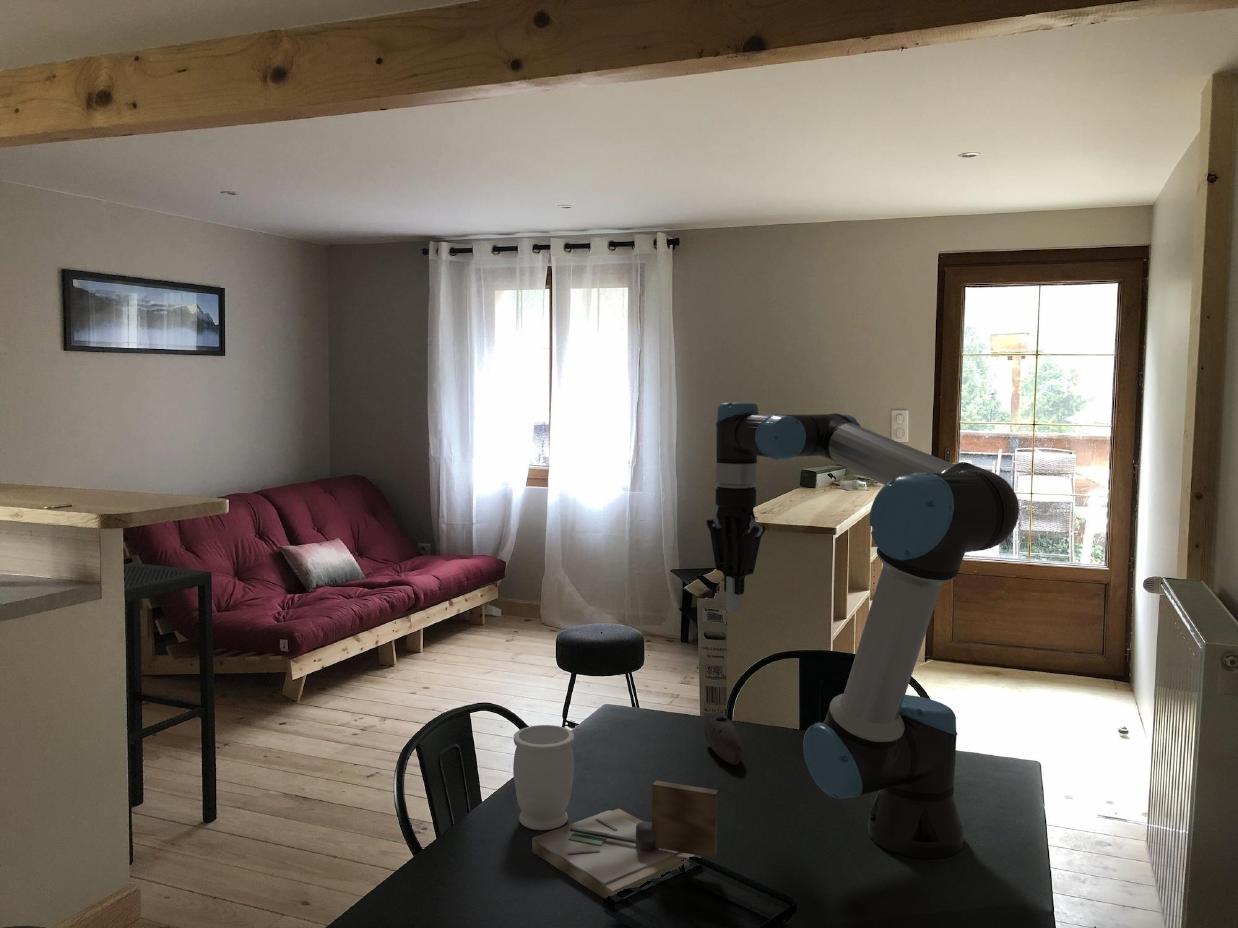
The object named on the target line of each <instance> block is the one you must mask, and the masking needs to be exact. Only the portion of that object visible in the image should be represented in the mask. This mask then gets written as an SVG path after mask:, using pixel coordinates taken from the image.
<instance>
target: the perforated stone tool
mask: <svg viewBox="0 0 1238 928" xmlns="http://www.w3.org/2000/svg"><path fill="white" fill-rule="evenodd" d="M703 726H704V729H703V730H704V732H703V733H704V737H705V739H706V741H707V743H708V744H709V748H711V749H712V751H713V752H714V753H715V754H716V755H717V756H718V757H719V758H721V759H722V760H723V761H724V762H726V763H728V764H730V765H732V766H733V765H734V766H736V765H739V763H740V762H741V760H742V755H743V746H742V745H743V744H742V740H741V737H740V735H739V733H738V731H737V729H736V727H735V725H734V724H733V722H732V721H731V720H730V719H728V717H727V716H725V715H724V714H723V713H720V712H712V713H709V714H708V715H707V717H706V718H705V722H704V725H703Z"/></svg>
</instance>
